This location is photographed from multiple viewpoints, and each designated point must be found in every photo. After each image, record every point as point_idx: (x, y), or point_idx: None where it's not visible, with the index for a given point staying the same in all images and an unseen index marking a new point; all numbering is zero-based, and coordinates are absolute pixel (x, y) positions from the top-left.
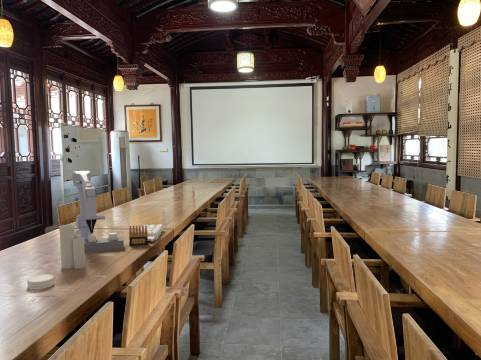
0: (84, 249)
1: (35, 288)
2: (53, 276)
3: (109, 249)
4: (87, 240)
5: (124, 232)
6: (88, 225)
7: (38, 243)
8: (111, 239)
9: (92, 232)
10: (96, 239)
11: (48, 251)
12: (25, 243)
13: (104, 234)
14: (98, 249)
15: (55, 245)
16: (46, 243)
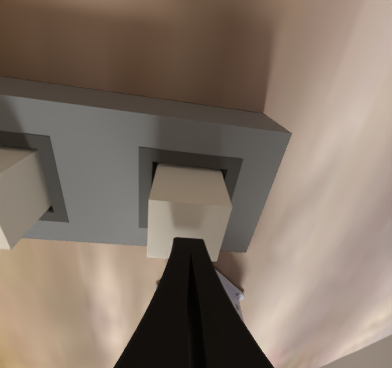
0: (252, 117)
1: None
2: None
3: (64, 86)
4: None
5: (48, 358)
6: (262, 362)
7: (342, 332)
8: (3, 154)
9: (181, 243)
10: None
11: (376, 236)
12: (370, 341)
13: None
14: (148, 100)
15: (310, 300)
16: (323, 326)
